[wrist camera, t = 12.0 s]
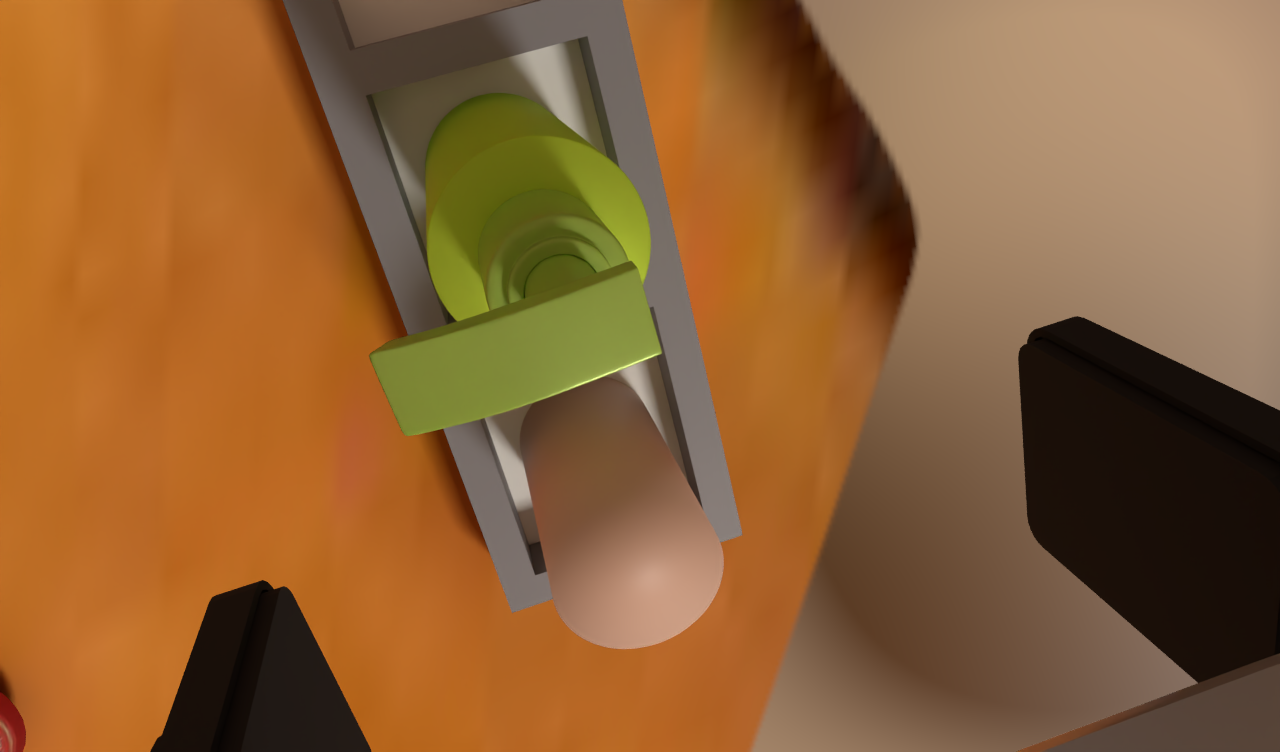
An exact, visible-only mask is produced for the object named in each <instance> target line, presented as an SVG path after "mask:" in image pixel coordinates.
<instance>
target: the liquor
mask: <svg viewBox="0 0 1280 752" xmlns="http://www.w3.org/2000/svg"><path fill="white" fill-rule="evenodd" d="M25 740H26V730H25V726H24V722H23V719H22V717H21V715H20V714H19V712H18V710H17V708H16V707H15V706H14V705H13V704H12V702H11V701H10V700H9V699H8V698H7V697H6V696H5V695H3V694H2V693H1V692H0V752H23V749H24V746H25Z"/></svg>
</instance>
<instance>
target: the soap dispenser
mask: <svg viewBox="0 0 1280 752" xmlns="http://www.w3.org/2000/svg"><path fill="white" fill-rule="evenodd" d="M425 186H426V240H427V260H428V266H429V271H430V275H431V278H432V281H433V284H434V287H435V289H436V291H437V293H438V295H439V297H440V299H441V301H442V303H443V304H444V306H445V307H446V309H447V310H448V311H449V313H450V314H451V315H452V316H453V318H454V319H455V320H456V321H457V322H454V323H451V324H448V325H444V326H441V327H438V328H434V329H431V330H427V331H424V332H420V333H416V334H413V335H409V336H405V337H401V338H398V339H394V340H391V341H389V342H387V343H385V344H384V345H382V346H381V347H379V348H378V349H376V350H375V351H373V352H372V353H370V355H369V357H370V360H371V363H372V365H373V367H374V370H375V372H376V374H377V376H378V379H379V381H380V383H381V386H382V388H383V390H384V392H385V395H386V397H387V399H388V401H389V404H390V406H391V408H392V410H393V412H394V415H395V417H396V419H397V421H398V423H399V426H400V428H401V430H402V432H403V433H404V435H406V436H411V435H417V434H422V433H427V432H431V431H435V430H440V429H444V428H448V427H452V426H456V425H460V424H464V423H468V422H472V421H476V420H479V419H483V418H487V417H490V416H493V415H497V414H500V413H503V412H507V411H510V410H513V409H516V408H519V407H522V406H525V405H528V404H531V403H534V402H537V401H540V400H543V399H546V398H549V397H551V396H554V395H557V394H560V393H562V392H565V391H568V390H571V389H573V388H576V387H578V386H581V385H584V384H586V383H589V382H592V381H594V380H597V379H599V378H602V377H605V376H607V375H610V374H612V373H615V372H617V371H620V370H622V369H625V368H627V367H630V366H632V365H635V364H638V363H640V362H643V361H645V360H648V359H650V358H653V357H655V356H658V355H660V354H662V350H661V347H660V343H659V340H658V336H657V333H656V329H655V326H654V322H653V319H652V315H651V312H650V309H649V305H648V302H647V298H646V295H645V291H644V288H643V283H644V280H645V278H646V274H647V271H648V266H649V261H650V252H651V235H650V227H649V222H648V217H647V214H646V210H645V208H644V205H643V202H642V200H641V198H640V196H639V194H638V192H637V190H636V189H635V187H634V185H633V184H632V182H631V181H630V180H629V178H628V177H627V176H626V174H625V173H624V172H623V171H622V170H621V169H620V168H619V167H618V166H617V165H616V164H615V163H614V162H613V161H612V160H610V159H609V158H608V157H607V156H605V155H604V154H603V153H601V152H600V151H599V150H598V149H596V148H595V147H594V146H593V145H591V144H590V143H589V142H587V141H586V140H585V139H584V138H582V137H581V136H580V135H578V134H577V133H576V132H575V131H573V130H572V129H571V128H570V127H568V126H567V125H566V124H564V123H563V122H562V121H561V120H559V119H558V118H557V117H555V116H554V115H553V114H552V113H550V112H549V111H548V110H547V109H545V108H544V107H542V106H541V105H539V104H538V103H536V102H534V101H532V100H530V99H528V98H525V97H522V96H519V95H515V94H508V93H490V94H484V95H479V96H476V97H473V98H471V99H468V100H466V101H464V102H462V103H461V104H459V105H458V106H456V107H455V108H454V109H452V110H451V111H450V112H449V113H448V114H447V115H446V116H445V117H444V118H443V119H442V120H441V122H440V123H439V124H438V126H437V127H436V129H435V131H434V133H433V135H432V137H431V139H430V142H429V145H428V149H427V153H426V160H425Z"/></svg>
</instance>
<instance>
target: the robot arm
mask: <svg viewBox="0 0 1280 752" xmlns="http://www.w3.org/2000/svg"><path fill="white" fill-rule="evenodd" d="M1018 361H1019V379H1020V395H1021V412H1022V430H1023V448H1024V463H1025V464H1024V465H1025V483H1026V500H1027V517H1028V523H1029V526H1030V529H1031V531H1032V533H1033V535H1034V537H1035V538H1036V540H1037V541H1038V543H1040V545H1041V546H1042V547H1043V548H1044V549H1045V550H1047V551H1048V552H1049V553H1050V554H1051V555H1052V556H1054V557H1055V558H1056V559H1057V560H1058V561H1059V562H1060V563H1062V564H1063V565H1064V566H1065V567H1066V568H1067V569H1068V570H1069V571H1071V572H1072V573H1073V574H1074V575H1075V576H1076V577H1078V578H1079V579H1080V580H1081V581H1082V582H1084V584H1086V585H1087V586H1088V587H1089V588H1090V589H1091V590H1093V591H1094V592H1095V593H1096V594H1097V595H1098V596H1099V597H1100V598H1102V599H1103V600H1104V601H1105V602H1106V603H1107V604H1108V605H1110V606H1111V607H1112V608H1113V609H1114V610H1115V611H1117V612H1118V613H1119V614H1120V615H1121V616H1122V617H1123V618H1125V619H1126V620H1127V621H1128V622H1129V623H1130V624H1131V625H1132V626H1134V627H1135V628H1136V629H1137V630H1138V631H1139V632H1140V633H1142V634H1143V635H1144V636H1145V637H1146V638H1147V639H1149V640H1150V641H1151V642H1152V643H1153V644H1154V645H1155V646H1157V647H1158V648H1159V649H1160V650H1161V651H1162V652H1163V653H1165V654H1166V655H1167V656H1168V657H1169V658H1170V659H1172V660H1173V661H1174V662H1175V663H1176V664H1177V665H1178V666H1179V667H1181V668H1182V669H1183V670H1184V671H1185V672H1187V673H1188V674H1189V675H1190V676H1191V677H1192V678H1193V679H1195V680H1196V681H1197V682H1198V684H1195V685H1193V686H1190V687H1187V688H1184V689H1182V690H1179V691H1176V692H1174V693H1171V694H1169V695H1166V696H1163V697H1160V698H1157V699H1155V700H1152V701H1149V702H1147V703H1144V704H1141V705H1139V706H1136V707H1133V708H1131V709H1128V710H1125V711H1123V712H1120V713H1117V714H1115V715H1112V716H1110V717H1107V718H1104V719H1101V720H1098V721H1096V722H1093V723H1090V724H1088V725H1085V726H1082V727H1080V728H1077V729H1074V730H1072V731H1069V732H1066V733H1064V734H1061V735H1058V736H1056V737H1053V738H1050V739H1048V740H1045V741H1042V742H1040V743H1037V744H1034V745H1032V746H1029V747H1026V748H1024V749H1021V750H1018V751H1016V752H1280V410H1277V409H1275V408H1273V407H1271V406H1269V405H1267V404H1265V403H1263V402H1260V401H1258V400H1256V399H1254V398H1252V397H1250V396H1248V395H1246V394H1244V393H1242V392H1240V391H1237V390H1235V389H1233V388H1231V387H1229V386H1227V385H1225V384H1223V383H1220V382H1218V381H1216V380H1214V379H1212V378H1210V377H1208V376H1206V375H1204V374H1201V373H1199V372H1197V371H1195V370H1193V369H1191V368H1189V367H1187V366H1185V365H1182V364H1180V363H1178V362H1176V361H1174V360H1172V359H1170V358H1168V357H1166V356H1163V355H1161V354H1159V353H1157V352H1155V351H1153V350H1151V349H1149V348H1146V347H1144V346H1142V345H1140V344H1138V343H1136V342H1134V341H1132V340H1130V339H1127V338H1125V337H1123V336H1121V335H1119V334H1117V333H1115V332H1112V331H1111V330H1108V329H1106V328H1104V327H1102V326H1100V325H1098V324H1096V323H1094V322H1092V321H1089V320H1087V319H1085V318H1081V317H1078V316H1077V317H1072V318H1069V319H1066V320H1063V321H1060V322H1057V323H1054V324H1050V325H1047V326H1044V327H1041V328H1038V329H1035V330H1033V331H1032V332H1031V334H1030V335H1029V338H1028V340H1027V344H1025V345H1023V346H1022V347H1021V348H1020V351H1019V357H1018ZM151 752H371V749H370V747H369V745H368V743H367V741H366V739H365V737H364V735H363V733H362V731H361V729H360V727H359V725H358V723H357V721H356V719H355V717H354V715H353V713H352V711H351V709H350V707H349V705H348V703H347V701H346V699H345V697H344V695H343V693H342V691H341V689H340V687H339V685H338V683H337V681H336V679H335V677H334V675H333V673H332V671H331V669H330V667H329V665H328V663H327V661H326V659H325V657H324V655H323V653H322V651H321V649H320V648H319V646H318V644H317V642H316V640H315V638H314V636H313V634H312V632H311V630H310V628H309V626H308V624H307V622H306V620H305V618H304V616H303V614H302V612H301V610H300V608H299V606H298V604H297V602H296V600H295V598H294V596H293V594H292V593H291V591H290V590H289V589H288V588H287V587H284V586H283V587H280V588H277V589H273V587H272V586H271V585H270V584H269V583H268V582H266V581H264V580H262V581H259V582H256V583H253V584H249V585H246V586H243V587H240V588H237V589H234V590H231V591H228V592H225V593H222V594H219V595H216V596H214V597H212V599H211V600H210V602H209V604H208V607H207V610H206V613H205V616H204V618H203V621H202V624H201V627H200V630H199V632H198V635H197V638H196V641H195V644H194V647H193V649H192V652H191V655H190V658H189V661H188V663H187V666H186V669H185V672H184V675H183V678H182V680H181V683H180V686H179V689H178V692H177V694H176V697H175V700H174V703H173V706H172V709H171V711H170V714H169V717H168V720H167V723H166V725H165V728H164V731H163V734H162V735H161V736H160V737H159V738H157V740H156V742H155V744H154V746H153V747H152V749H151Z"/></svg>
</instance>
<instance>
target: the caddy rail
mask: <svg viewBox="0 0 1280 752" xmlns="http://www.w3.org/2000/svg"><path fill="white" fill-rule="evenodd" d="M283 2H284V5H285V8H286V10H287V13H288V16H289V18H290V21H291V24H292V26H293V29H294V32H295V34H296V37H297V40H298V42H299V45H300V48H301V51H302V53H303V56H304V59H305V61H306V64H307V67H308V69H309V72H310V75H311V77H312V80H313V83H314V85H315V88H316V91H317V93H318V96H319V99H320V101H321V104H322V107H323V109H324V112H325V115H326V117H327V120H328V123H329V125H330V128H331V131H332V133H333V136H334V139H335V141H336V144H337V147H338V149H339V152H340V155H341V157H342V160H343V163H344V165H345V168H346V171H347V173H348V176H349V179H350V181H351V184H352V187H353V189H354V192H355V195H356V197H357V200H358V203H359V205H360V208H361V211H362V213H363V216H364V219H365V221H366V224H367V227H368V229H369V232H370V235H371V237H372V240H373V243H374V245H375V248H376V251H377V253H378V256H379V259H380V261H381V264H382V267H383V269H384V272H385V275H386V277H387V280H388V283H389V285H390V288H391V291H392V293H393V296H394V299H395V301H396V304H397V307H398V309H399V312H400V315H401V317H402V320H403V323H404V325H405V328H406V331H407V333H408V336H409V335H413V334H416V333H420V332H424V331H427V330H431V329H434V328H438V327H441V326H444V325H448V324H451V323H454V322H457V321H456V320H455V319H454V318H453V316H452V315H451V314H450V313H449V311H448V310H447V309H446V307H445V306H444V304H443V303H442V301H441V299H440V297H439V295H438V293H437V291H436V289H435V287H434V284H433V281H432V278H431V275H430V271H429V266H428V260H427V240H426V186H425V160H426V153H427V149H428V145H429V142H430V139H431V137H432V135H433V133H434V131H435V129H436V127H437V126H438V124H439V123H440V122H441V120H442V119H443V118H444V117H445V116H446V115H447V114H448V113H449V112H450V111H451V110H452V109H454V108H455V107H456V106H458V105H459V104H461V103H462V102H464V101H466V100H468V99H471V98H473V97H476V96H479V95H484V94H490V93H508V94H515V95H519V96H522V97H525V98H528V99H530V100H532V101H534V102H536V103H538V104H539V105H541V106H542V107H544V108H545V109H547V110H548V111H549V112H550V113H552V114H553V115H554V116H555V117H557V118H558V119H559V120H561V121H562V122H563V123H564V124H566V125H567V126H568V127H570V128H571V129H572V130H573V131H575V132H576V133H577V134H578V135H580V136H581V137H582V138H584V139H585V140H586V141H587V142H589V143H590V144H591V145H593V146H594V147H595V148H596V149H598V150H599V151H600V152H601V153H603V154H604V155H605V156H607V157H608V158H609V159H610V160H612V161H613V162H614V163H615V164H616V165H617V166H618V167H619V168H620V169H621V170H622V171H623V172H624V173H625V174H626V176H627V177H628V178H629V180H630V181H631V182H632V184H633V185H634V187H635V189H636V190H637V192H638V194H639V196H640V198H641V200H642V202H643V205H644V208H645V210H646V214H647V217H648V222H649V227H650V235H651V252H650V261H649V266H648V271H647V274H646V278H645V280H644V283H643V288H644V291H645V295H646V298H647V302H648V305H649V309H650V312H651V315H652V319H653V322H654V326H655V329H656V333H657V336H658V340H659V343H660V347H661V350H662V354H660V355H658V356H655V357H653V358H650V359H648V360H645V361H643V362H640V363H638V364H635V365H632V366H630V367H627V368H625V369H622V370H620V371H617V372H615V373H612V374H610V375H607V376H605V377H602V378H599V379H597V380H594V381H592V382H589V383H586V384H584V385H581V386H578V387H576V388H573V389H571V390H568V391H565V392H562V393H560V394H557V395H554V396H551V397H549V398H546V399H543V400H540V401H537V402H534V403H531V404H528V405H525V406H522V407H519V408H516V409H513V410H510V411H507V412H503V413H500V414H497V415H493V416H490V417H487V418H483V419H479V420H476V421H472V422H468V423H464V424H460V425H456V426H452V427H448V428H444V432H445V435H446V437H447V440H448V443H449V445H450V448H451V451H452V453H453V456H454V459H455V461H456V464H457V467H458V469H459V472H460V475H461V477H462V480H463V483H464V485H465V488H466V491H467V493H468V496H469V499H470V501H471V504H472V507H473V509H474V512H475V515H476V517H477V520H478V523H479V525H480V528H481V531H482V533H483V536H484V539H485V541H486V544H487V547H488V549H489V552H490V555H491V557H492V560H493V563H494V565H495V568H496V571H497V574H498V576H499V579H500V582H501V584H502V587H503V590H504V592H505V595H506V598H507V600H508V603H509V606H510V608H511V611H512V613H513V612H516V611H519V610H522V609H525V608H528V607H531V606H533V605H536V604H539V603H542V602H545V601H548V600H551V599H553V601H554V605H555V607H556V609H557V612H558V614H559V615H560V617H561V618H562V620H563V622H564V623H565V624H566V625H567V626H568V627H569V628H570V629H571V630H572V631H573V632H574V633H576V634H577V635H578V636H580V637H582V638H583V639H585V640H587V641H589V642H592V643H594V644H597V645H600V646H604V647H609V648H615V649H633V648H641V647H647V646H651V645H654V644H657V643H660V642H663V641H665V640H668V639H670V638H672V637H674V636H675V635H677V634H679V633H681V632H682V631H684V630H685V629H687V628H688V627H689V626H690V625H692V624H693V623H694V622H695V621H696V620H697V619H698V618H699V617H700V616H701V615H702V614H703V613H704V612H705V611H706V609H707V608H708V607H709V605H710V604H711V602H712V600H713V599H714V597H715V595H716V593H717V591H718V588H719V586H720V583H721V579H722V574H723V567H724V562H723V552H722V547H721V544H720V542H723V541H726V540H729V539H732V538H735V537H738V536H741V535H742V530H741V526H740V521H739V517H738V512H737V508H736V503H735V499H734V495H733V490H732V486H731V481H730V477H729V472H728V468H727V464H726V459H725V455H724V450H723V446H722V441H721V437H720V432H719V428H718V424H717V419H716V415H715V410H714V406H713V401H712V397H711V392H710V388H709V384H708V379H707V375H706V370H705V366H704V361H703V357H702V353H701V348H700V344H699V339H698V335H697V330H696V326H695V321H694V317H693V313H692V308H691V304H690V299H689V295H688V290H687V286H686V281H685V277H684V273H683V268H682V264H681V259H680V255H679V250H678V246H677V242H676V237H675V233H674V228H673V224H672V219H671V215H670V210H669V206H668V202H667V197H666V193H665V188H664V184H663V179H662V175H661V170H660V166H659V162H658V157H657V153H656V148H655V144H654V139H653V135H652V131H651V126H650V122H649V117H648V113H647V108H646V104H645V99H644V95H643V91H642V86H641V82H640V77H639V73H638V68H637V64H636V59H635V55H634V51H633V46H632V42H631V37H630V33H629V28H628V24H627V20H626V15H625V11H624V6H623V2H622V0H283Z"/></svg>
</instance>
